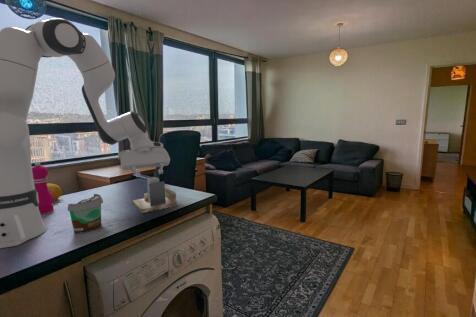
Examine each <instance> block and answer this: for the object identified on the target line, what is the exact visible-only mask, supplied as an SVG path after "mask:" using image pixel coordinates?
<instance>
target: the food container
mask: <svg viewBox="0 0 476 317" xmlns="http://www.w3.org/2000/svg"><path fill="white" fill-rule="evenodd" d="M103 202H104V200H103V197H102V196H101V195H100V194H99V193H93V196H91V197H89V198H85V199H82V200H81V201H79V202H77V203H67V212H69V215H70V219H71V224H72V230H73V234H83V233H89V232H92V231H96V230H97V229H99V228H100V227H101V226H102V204H103Z"/></svg>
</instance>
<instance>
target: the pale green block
mask: <svg viewBox="0 0 476 317" xmlns="http://www.w3.org/2000/svg"><path fill="white" fill-rule="evenodd" d="M146 181H147V182H146V183H147V184H146V185H147V193H148V200H149V202H150V197H149V184H150V183H157V182H160V178H158V177H156V176H152V177H147V178H146Z"/></svg>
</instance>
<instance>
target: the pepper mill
mask: <svg viewBox="0 0 476 317" xmlns="http://www.w3.org/2000/svg"><path fill="white" fill-rule="evenodd" d="M32 172H33V179H34V187H35V188H36V189H37V192H38V199H39V205H38V207H39V211H40V214H41V215H44V213H45V214H48V212H49V213H51V212H53V211H54V209H55V208H54V205H53V204H54V202H55V201H54V198H53V196H52V194H51V193H50V191H49V190H48V187H47V184H48V181H49V180H48V175H49V170H48V168H47V167H45V166H43V165H41V162H40V161H36V162H35V163H34V166H32Z"/></svg>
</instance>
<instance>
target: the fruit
mask: <svg viewBox="0 0 476 317" xmlns="http://www.w3.org/2000/svg"><path fill="white" fill-rule="evenodd" d="M47 187H48V190H49V191H50V193H51V194H52V196H53V198H54V201H53V202H55V201H57V200H59V198H61V195H62V189H61V187H60V186H59V185H57V184H55V183H50V182H49V183H48V182H47Z"/></svg>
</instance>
